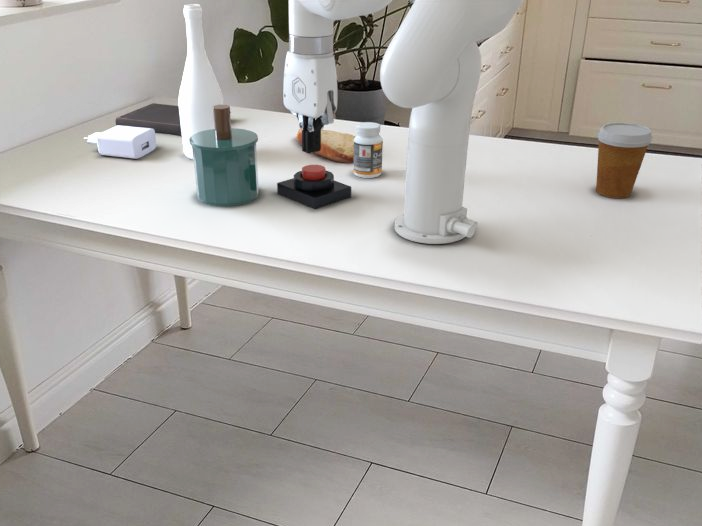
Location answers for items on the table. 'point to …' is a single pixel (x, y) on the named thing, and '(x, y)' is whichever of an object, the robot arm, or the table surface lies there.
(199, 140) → the lid
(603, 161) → the disposable coffee cup
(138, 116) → the hardcover book
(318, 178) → the release button
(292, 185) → the button housing
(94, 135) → the charger
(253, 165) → the canister
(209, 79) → the wine bottle
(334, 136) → the bread slice
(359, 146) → the pill bottle
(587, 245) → the table surface
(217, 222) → the table surface
